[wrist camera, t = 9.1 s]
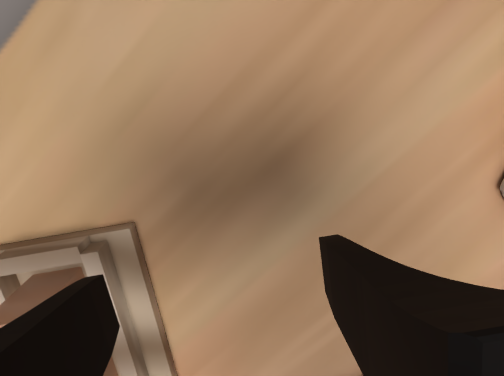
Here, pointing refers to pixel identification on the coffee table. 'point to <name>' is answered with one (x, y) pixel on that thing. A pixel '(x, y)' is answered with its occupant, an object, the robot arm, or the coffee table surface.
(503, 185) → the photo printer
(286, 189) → the coffee table surface
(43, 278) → the clay strip
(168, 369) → the framed rectangular tray
